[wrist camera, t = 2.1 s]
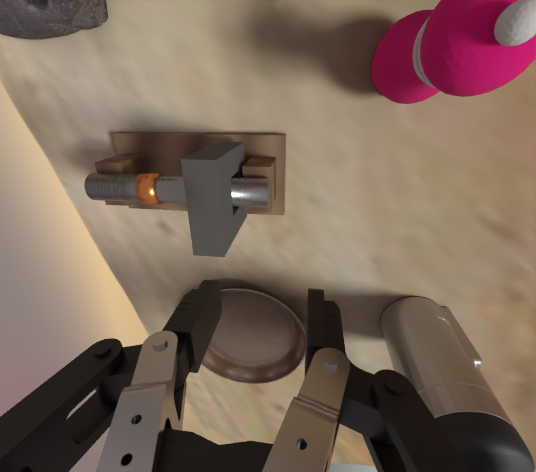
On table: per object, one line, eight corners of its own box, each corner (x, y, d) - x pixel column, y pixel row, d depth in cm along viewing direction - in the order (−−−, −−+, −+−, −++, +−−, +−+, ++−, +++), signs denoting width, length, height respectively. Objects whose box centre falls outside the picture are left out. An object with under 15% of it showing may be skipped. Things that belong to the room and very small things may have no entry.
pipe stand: (286, 134, 35) (280, 142, 28) (284, 211, 39) (279, 232, 33) (118, 132, 37) (80, 139, 31) (134, 204, 42) (103, 223, 35)
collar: (243, 141, 32) (216, 160, 23) (247, 215, 36) (224, 256, 27) (218, 141, 33) (180, 159, 23) (224, 214, 37) (193, 254, 27)
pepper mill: (353, 55, 30) (413, -5, 12) (422, 4, 28) (621, -163, 10) (383, 116, 32) (471, 140, 14) (449, 74, 30) (655, 41, 12)
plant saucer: (259, 256, 43) (255, 268, 40) (330, 345, 49) (331, 362, 46) (167, 308, 50) (158, 322, 47) (238, 381, 56) (234, 396, 53)
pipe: (271, 173, 30) (266, 181, 27) (271, 203, 32) (267, 214, 29) (100, 168, 33) (79, 175, 30) (108, 196, 34) (88, 206, 31)
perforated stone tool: (22, 52, 35) (-40, 43, 29) (0, -1, 33) (-73, -24, 26) (132, 29, 32) (89, 13, 26) (116, -32, 30) (64, -65, 24)
